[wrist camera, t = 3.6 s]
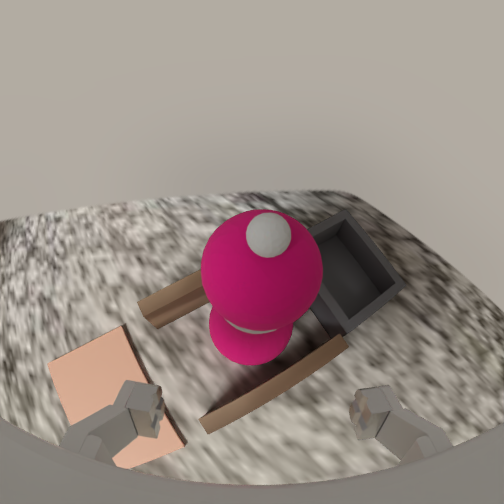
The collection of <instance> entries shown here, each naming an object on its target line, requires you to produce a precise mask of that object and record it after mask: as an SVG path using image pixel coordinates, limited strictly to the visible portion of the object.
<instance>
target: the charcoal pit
mask: <svg viewBox="0 0 504 504" xmlns="http://www.w3.org/2000/svg"><path fill="white" fill-rule="evenodd" d="M307 230H308V231H309V233H310V234H311V235H312V236H313V238H314V240H315V242H316V244H317V246H318V248H319V251H320V254H321V259H322V265H323V278H322V282H321V286H320V290H319V292H318V294H317V297H316V299H315V300H314V302H313V303H312V305H311V306H310V308H311V310H312V311H313V313H314V314H315V316H316V317H317V318H318V320H319V321H320V323H321V324H322V326H323V327H324V329H325V330H326V331H327V333H328V334H329V336H330V337H331V339H332V338H333V337H335V336H336V335H338V334H339V333H340V334H341V336H342V337H343V336H345V335H346V334H348V333H349V332H351V331H352V330H353V329H354V328H356V327H357V326H358V325H360V324H361V323H362V322H363V321H365V320H366V319H367V318H368V317H370V316H371V315H372V314H373V313H375V312H376V311H377V310H378V309H380V308H381V307H382V306H383V305H384V304H386V303H387V302H388V301H389V300H390V299H391V298H393V297H394V296H395V295H396V294H397V293H398V292H400V291H401V290H402V289H403V288H404V287H405V286H406V284H405V283H404V281H403V280H402V278H401V277H400V276H399V274H398V273H397V272H396V270H395V269H394V268H393V266H392V265H391V264H390V262H389V261H388V260H387V259H386V257H385V256H384V255H383V253H382V252H381V251H380V250H379V248H378V247H377V246H376V245H375V243H374V242H373V241H372V240H371V238H370V237H369V236H368V235H367V233H366V232H365V231H364V230H363V229H362V227H361V226H360V225H359V224H358V223H357V221H356V220H355V219H354V218H353V217H352V216H351V214H350V213H349V212H348V211H347V210H346V209H345V210H343V211H341V212H339V213H337V214H335V215H333V216H332V217H330V218H328V219H326V220H324V221H322V222H320V223H318V224H316V225H315V226H313V227H311V228H309V229H307Z"/></svg>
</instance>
